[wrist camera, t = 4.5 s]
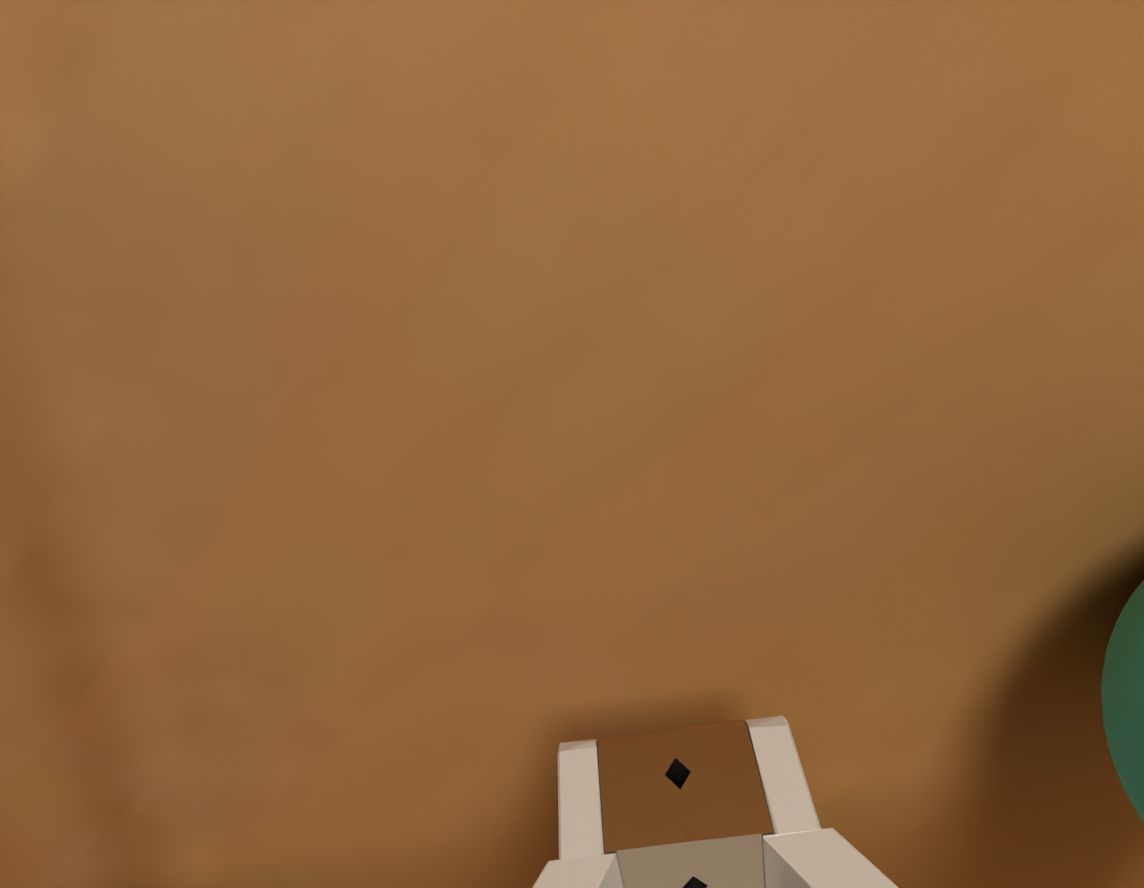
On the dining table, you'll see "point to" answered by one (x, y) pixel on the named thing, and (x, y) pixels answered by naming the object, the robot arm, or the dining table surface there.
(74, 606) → the dining table surface
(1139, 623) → the ball
